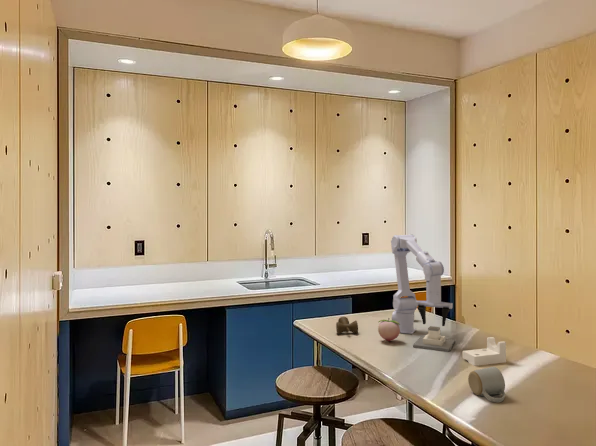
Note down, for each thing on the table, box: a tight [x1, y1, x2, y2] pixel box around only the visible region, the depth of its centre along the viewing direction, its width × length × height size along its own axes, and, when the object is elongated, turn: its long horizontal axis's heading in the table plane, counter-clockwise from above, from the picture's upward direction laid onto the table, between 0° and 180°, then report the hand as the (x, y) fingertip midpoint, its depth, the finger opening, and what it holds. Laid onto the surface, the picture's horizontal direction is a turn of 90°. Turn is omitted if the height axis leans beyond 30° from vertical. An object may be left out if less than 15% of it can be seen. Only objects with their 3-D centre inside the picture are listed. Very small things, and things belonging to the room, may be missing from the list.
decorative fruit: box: [377, 317, 401, 342], centre depth 195 cm, size 9×8×10 cm
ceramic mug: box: [467, 366, 506, 403], centre depth 137 cm, size 11×8×8 cm
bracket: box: [462, 336, 507, 367], centre depth 168 cm, size 13×7×8 cm, turn 104°
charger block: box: [427, 325, 441, 340], centre depth 189 cm, size 4×4×6 cm
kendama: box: [335, 316, 359, 335], centre depth 213 cm, size 6×10×20 cm
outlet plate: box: [412, 333, 456, 353], centre depth 189 cm, size 14×14×3 cm
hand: (433, 324), depth 189 cm, fingers open, 7 cm apart
